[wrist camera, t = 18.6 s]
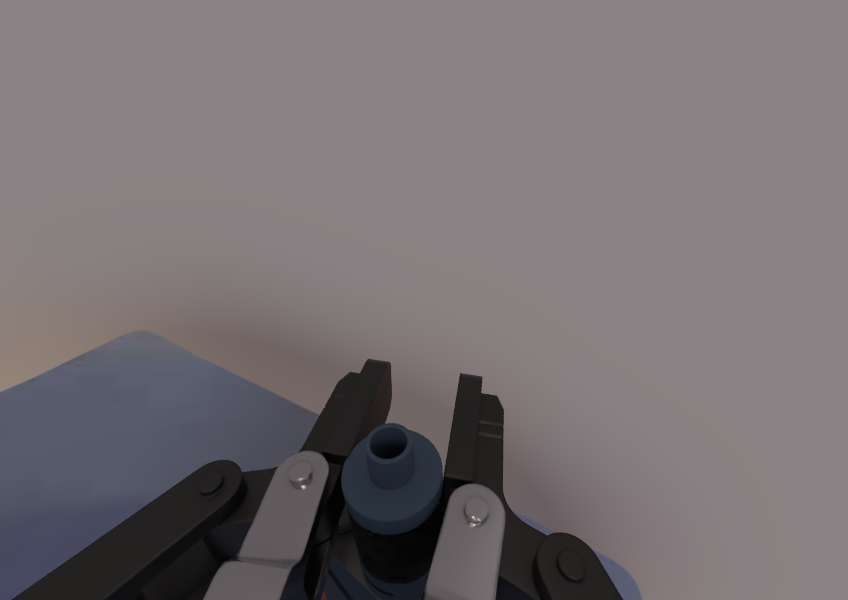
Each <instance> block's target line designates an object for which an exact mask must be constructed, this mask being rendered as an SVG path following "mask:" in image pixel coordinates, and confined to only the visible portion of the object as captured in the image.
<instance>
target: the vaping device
mask: <svg viewBox="0 0 848 600" xmlns="http://www.w3.org/2000/svg"><path fill="white" fill-rule="evenodd" d="M341 485H342V491H343V495H344V499H345V503H346V504H345V507H344V509H343V512H342V515H341V517H340V520H339V531H338V535H337V539H336V543H335V547H334V551H333V555H332V559H331V562H330V566H329V570H328V574H327V578H326V582H325V586H324V590H323V591H324V594H325V596H326V599H327V600H420V599H421V597H422V595H423V593H424V590H425V587H426V583H427V580H428V576H429V572H430V568H431V565H432V561H433V557H434V554H435V550H436V546H437V542H438V539H439V535H440V531H441V527H442V524H443V515H442V513H443V510H442V508H443V498H442V494H443V493H442V491H443V473H442V463H441V458H440V456H439V453H438V451H437V449H436V448H435V447H434V445H433V444H432V443H431V442H430V441H429V440H428V439H427V438H425V437H424V436H423V435H420V434H419V433H417V432H414V431H411V430H408V429H407V428H405V427H404V426H402V425H399V424H395V423H388V424H383V425H380V426H378V427H376V428H375V429H373V430H372V431H371V432H370V433H369V435H368V436H367V437H366V438H365V439H363V440H362V441H361V442H359V443H358V444H357V445H356V446H355V447H354V448H353V450H352V452H351V454H350V456H349V458H346V461H345V463H344V465H343V469H342V474H341ZM441 500H442V503H441ZM439 502H440V503H439ZM438 503H439V504H438ZM438 507H439V508H438Z"/></svg>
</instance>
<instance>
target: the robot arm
mask: <svg viewBox="0 0 848 600" xmlns="http://www.w3.org/2000/svg"><path fill="white" fill-rule="evenodd" d="M481 388H482V377H481V376H475V375H469V374H462V373H460V377H459V384H458V391H457V396H456V402H455V409H454V415H453V422H452V428H451V434H450V440H449V446H448V452H447V459H446V465H445V471H444V479H443V491H442V493H443V494H442V498H443V508H442V510H443V513H442V515H443V524H442V527H441V531H440V535H439V539H438V542H437V546H436V550H435V554H434V557H433V561H432V565H431V568H430V572H429V576H428V580H427V583H426V587H425V590H424V593H423V595H422V597H421V599H420V600H623V599H622V597H621V596H620V594H619V592H618V591H617V589H616V587H615V586H614V584H613V582H612V581H611V579H610V577H609V576H608V574H607V572H606V571H605V569H604V567H603V566H602V564H601V562H600V561H599V559H598V557H597V556H596V554H595V553H594V552H593V550H592V549H591V548H590V547H589V546H588V545H587V544H586V543H585V542H583V541H582V540H580V539H579V538H577V537H575V536H573V535H571V534H567V533H553V534H550V535H548V536H547V535H545V534H543V533H541V532H540V531H538V530H536V529H534V528H533V527H531V526H529V525H527V524H526V523H524V522H523V521H521V520H520V519H519V518H518V517H517V516H516V515H515V514H514V513H513V512H512V511H511V509H510V508H509V506H508V504H507V502H506V500H505V497H504V494H503V425H504V423H503V422H504V416H503V415H504V410H503V407H502V405H501V403H500V401H499V399H498V397H497V396H495V395H489V394H483V393H481ZM391 399H392V384H391V364H390V362H385V361H378V360H372V359H368V360H367V361H366V363H365V365H364V367H363V369H362V371H361V373H353V372H350V373H348V374H347V375H346V376H345V377H344V378H343V379H341V380H340V381H339V382H338V383H337V385H336V387H335V389H334V391H333V392H332V394H331V397H330V398H329V400H328V402H327V404H326V405H325V408H324V409H323V411H322V413H321V414H320V416H319V418H318V420H317V422H316V423H315V425H314V427H313V429H312V431H311V433H310V434H309V436H308V438H307V440H306V442H305V443H304V445H303V447H302V449H301V450H300V451H299V452H298V453H295V454H293V455H291V456H290V457H288V458H287V459H285V460H284V461H283V462H282V463H281V464H280V465H279V467H275V468H272V469H265V470H257V471H249V472H242V471H241V469H240V467H239V466H238V465H237V464H236V463H234V462H232V461H229V460H218V461H214V462H211V463H208V464H206V465H204V466H203V467H201V468H199V469H198V470H196V471H195V472H194V473H192V474H191V475H189V476H188V477H186V478H185V479H184V480H182V481H181V482H179V483H178V484H176V485H175V486H174V487H172V488H171V489H169V490H168V491H166V492H165V493H164V494H162V495H161V496H159V497H158V498H156V499H155V500H153V501H152V502H151V503H149V504H148V505H146V506H145V507H143V508H142V509H141V510H139V511H138V512H136V513H135V514H133V515H132V516H131V517H129V518H128V519H126V520H125V521H123V522H122V523H121V524H119V525H118V526H116V527H115V528H113V529H112V530H111V531H109V532H108V533H106V534H105V535H103V536H102V537H101V538H99V539H98V540H96V541H95V542H93V543H92V544H91V545H89V546H88V547H86V548H85V549H83V550H82V551H81V552H79V553H78V554H76V555H75V556H73V557H72V558H71V559H69V560H68V561H66V562H65V563H63V564H62V565H61V566H59V567H58V568H56V569H55V570H53V571H52V572H51V573H49V574H48V575H46V576H45V577H43V578H42V579H41V580H39V581H38V582H36V583H35V584H33V585H32V586H31V587H29V588H28V589H26V590H25V591H23V592H22V593H21V594H19V595H18V596H16V597H15V598H13V599H12V600H321V598H322V594H323V590H324V586H325V582H326V578H327V574H328V570H329V566H330V562H331V559H332V555H333V551H334V547H335V543H336V539H337V535H338V531H339V520H340V517H341V515H342V512H343V509H344V507H345V504H346V503H345V499H344V495H343V491H342V485H341V474H342V469H343V465H344V463H345V461H346V458H349V456H350V454H351V452H352V450H353V448H354V447H355V446H356V445H357V444H358V443H359V442H361V441H362V440H363V439H365V438H366V437H367V436H368V435H369V433H370V432H371V431H372V430H373V429H375V428H376V427H378V426H380V425H383V424H385V422H386V419H387V416H388V413H389V410H390V405H391ZM441 503H442V501H441Z"/></svg>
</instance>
